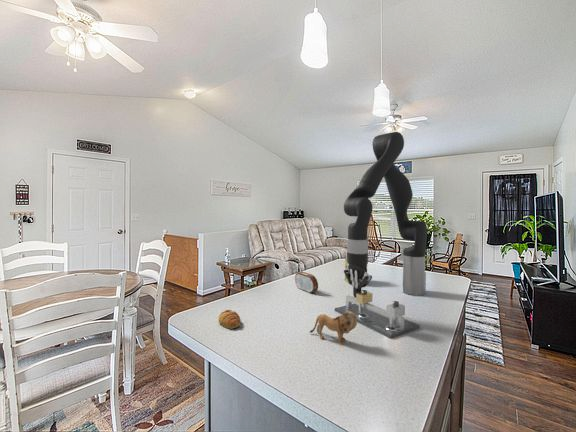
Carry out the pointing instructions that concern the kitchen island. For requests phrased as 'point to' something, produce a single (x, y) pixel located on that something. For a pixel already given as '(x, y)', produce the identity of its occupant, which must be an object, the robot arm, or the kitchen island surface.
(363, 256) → the robot arm
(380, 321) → the bolt plate
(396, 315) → the divider frame
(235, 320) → the pastry
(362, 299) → the block
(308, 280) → the tin
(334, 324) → the lion figurine
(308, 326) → the kitchen island surface
